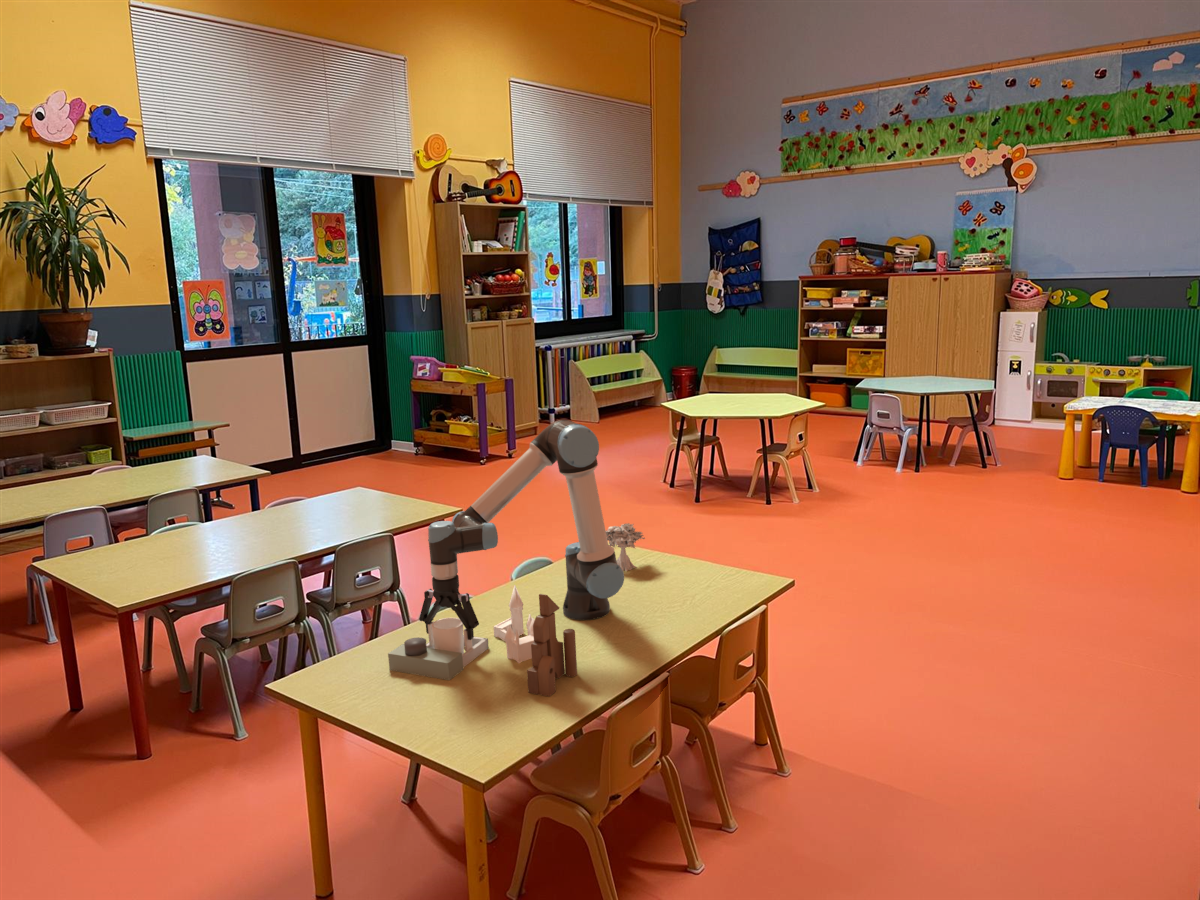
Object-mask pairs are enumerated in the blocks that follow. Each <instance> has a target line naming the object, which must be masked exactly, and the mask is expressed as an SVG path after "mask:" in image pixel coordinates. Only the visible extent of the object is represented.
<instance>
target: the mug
mask: <svg viewBox="0 0 1200 900" xmlns="http://www.w3.org/2000/svg"><path fill="white" fill-rule="evenodd" d="M434 621H435V622H433V621H432V622H433V623H432V632H433V639H434V646H435V649H440V650H446V651H453V652H459V653H462V654H464V653H465V646H464V639H463V635H464V625H463V623H462V622H461V620H460V619H459V617H444V618H440V619H437V620H434Z"/></svg>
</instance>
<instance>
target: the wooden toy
mask: <svg viewBox="0 0 1200 900" xmlns="http://www.w3.org/2000/svg"><path fill="white" fill-rule="evenodd" d="M538 600H539V601H538V602H539V614H538V615H536V617H535V618H534V620H535V621H534V624H533V634H534V641H535V642H533V643H532V644H531V652H532V659H531V666H530V668H527V671H526V673H527V677H526V678H527V687H528V688H527V691H528V693H529V694H534V695H540V696H545V697H551V696H552V695H553V694H555V693H556V691H557V689H556V687H557V686H556V679H560V678H561V677H562V676H564V675H565V676H566V677H568V678H569V677H571V678H572V677H575V676H577V674H578V663H577V647H576V645H577V644H576V630H575V629H573V628H566V629H564V630H563V631H562V635H563V637H562V639H563V642H562V641H559V640H558V638H557V629H556V627H557V626H556V612H557V611H558V610H560V607H559V605H558V604H556V602H554V601H553V599H551V597H550V596H548V594H543V593H539V594H538Z"/></svg>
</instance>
